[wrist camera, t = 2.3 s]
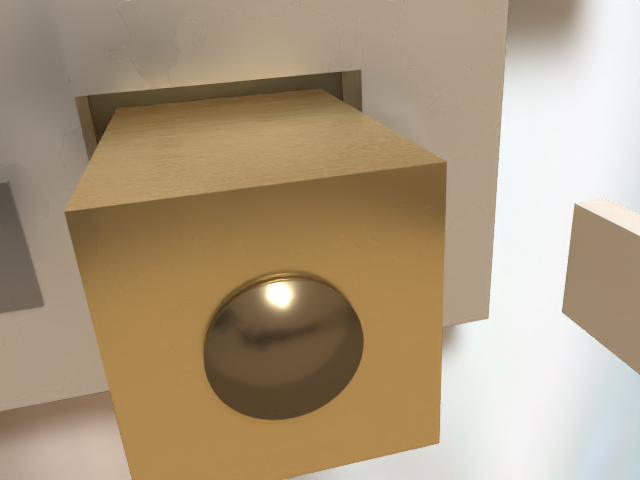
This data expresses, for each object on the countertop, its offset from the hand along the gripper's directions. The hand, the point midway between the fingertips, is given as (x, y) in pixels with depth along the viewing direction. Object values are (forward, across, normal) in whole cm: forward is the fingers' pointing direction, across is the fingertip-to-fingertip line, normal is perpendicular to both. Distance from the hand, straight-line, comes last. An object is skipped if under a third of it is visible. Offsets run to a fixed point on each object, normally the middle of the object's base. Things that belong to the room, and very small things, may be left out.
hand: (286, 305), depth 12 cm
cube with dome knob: (+7, 0, 0) cm, 7 cm away
